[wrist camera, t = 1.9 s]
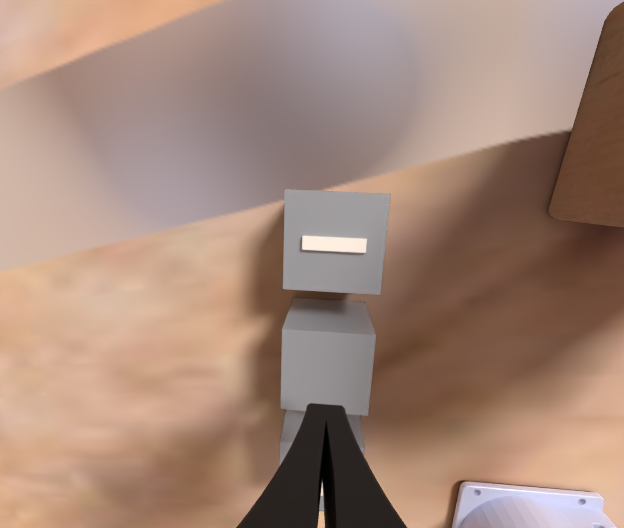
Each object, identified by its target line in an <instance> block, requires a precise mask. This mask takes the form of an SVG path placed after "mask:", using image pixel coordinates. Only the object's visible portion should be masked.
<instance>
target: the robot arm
mask: <svg viewBox="0 0 624 528" xmlns="http://www.w3.org/2000/svg"><path fill="white" fill-rule="evenodd" d="M322 481H323V498H324V516H325V528H407V527H406V525H405V524H404V522H403V521H402V519H401V518H400V517H399V515H398V514H397V512H396V511H395V509H394V508H393V506H392V504H391V503H390V501H389V500H388V498H387V497H386V495H385V493H384V492H383V490H382V488H381V487H380V485H379V483H378V482H377V480H376V478H375V476H374V474H373V473H372V471H371V469H370V467H369V465H368V463H367V461H366V459H365V458H364V455H363V453H362V451H361V449H360V447H359V445H358V443H357V441H356V438H355V436H354V434H353V431H352V429H351V426H350V424H349V421H348V418H347V415H346V412H345V408H344V407H343V406H342V405H329V404H315V403H310V404H308V405H307V408H306V412H305V415H304V418H303V421H302V423H301V426H300V428H299V430H298V433H297V435H296V437H295V439H294V441H293V443H292V445H291V447H290V449H289V451H288V453H287V454H286V456H285V458H284V460H283V461H282V463H281V465H280V467H279V468H278V470H277V472H276V473H275V475H274V477H273V478H272V480H271V481H270V483H269V484H268V486H267V487H266V489H265V490H264V492H263V493H262V495H261V496H260V497H259V499H258V500H257V501H256V503H255V504H254V506H253V507H252V508H251V510H250V511H249V512H248V514H247V515H246V516H245V517H244V519H243V520H242V521H241V523H240V524H239V525H238V526H237V527H236V528H317V526H318V516H319V507H320V497H321V488H322ZM603 506H604V499H603V498H602V497H601V496H600V495H599V494H598V493H595V492H585V491H573V490H562V489H550V488H538V487H527V486H515V485H503V484H492V483H480V482H469V481H467V482H463V483H462V484H461V485H460V489H459V494H458V499H457V504H456V509H455V514H454V519H453V524H452V528H617V527H616V526H615V525H614V524H613V523H612V522H611V520H610V519H609V518H608V517H607V516H606V515H605V514H604V512H603V511H602V508H603Z"/></svg>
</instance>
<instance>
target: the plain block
mask: <svg viewBox="0 0 624 528" xmlns="http://www.w3.org/2000/svg"><path fill="white" fill-rule="evenodd" d="M375 343H376V333H375V330H374V327H373V324H372V321H371V318H370V315H369V313H368V310H367V307H366V304H365V302H357V301H341V300H324V299H307V298H293V300H292V302H291V305H290V308H289V311H288V314H287V316H286V319H285V322H284V325H283V328H282V356H281V408H280V409H286V410H298V411H306V408H307V405H308V404H310V403H315V404H329V405H342V406H343V407H344V408H345V412H346V414H350V415H363V416H368V411H369V401H370V392H371V382H372V372H373V362H374V352H375Z"/></svg>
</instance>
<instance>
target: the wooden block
mask: <svg viewBox="0 0 624 528" xmlns="http://www.w3.org/2000/svg"><path fill="white" fill-rule="evenodd" d="M548 213H549V215H550V216H551V217H553V218H555V219H556V220H563V221H572V222H580V223H589V224H598V225H606V226H615V227H623V228H624V2H622V3H621V4H620V5H618V6H616V7H615V8H614V9H613V10H612V11H611V12H610V13H609V15H608V16H607V18H606V20H605V22H604V25H603V28H602V31H601V35H600V39H599V42H598V45H597V48H596V52H595V55H594V58H593V62H592V65H591V68H590V72H589V75H588V78H587V82H586V85H585V88H584V92H583V95H582V98H581V102H580V105H579V108H578V112H577V115H576V118H575V122H574V125H573V128H572V132H571V135H570V138H569V142H568V145H567V148H566V152H565V155H564V158H563V162H562V165H561V168H560V172H559V175H558V178H557V182H556V185H555V188H554V192H553V195H552V198H551V202H550V205H549V208H548Z"/></svg>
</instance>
